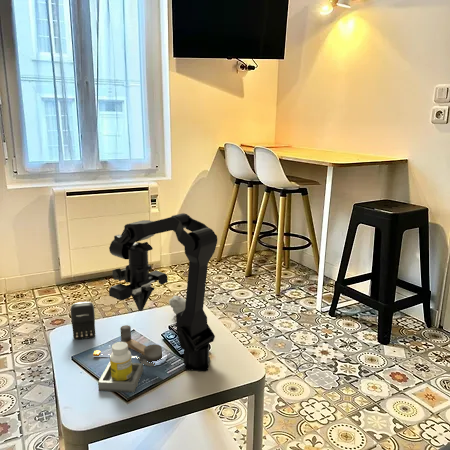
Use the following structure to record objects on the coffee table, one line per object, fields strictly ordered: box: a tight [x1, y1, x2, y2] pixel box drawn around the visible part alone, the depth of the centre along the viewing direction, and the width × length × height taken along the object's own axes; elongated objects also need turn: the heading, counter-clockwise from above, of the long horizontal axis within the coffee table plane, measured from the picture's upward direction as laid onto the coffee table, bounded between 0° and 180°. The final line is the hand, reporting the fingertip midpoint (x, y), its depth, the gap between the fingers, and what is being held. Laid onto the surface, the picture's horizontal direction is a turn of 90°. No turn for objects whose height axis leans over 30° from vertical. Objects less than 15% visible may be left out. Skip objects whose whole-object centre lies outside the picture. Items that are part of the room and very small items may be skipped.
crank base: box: [92, 350, 155, 367], centre depth 124 cm, size 21×8×1 cm, turn 87°
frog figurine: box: [168, 295, 186, 316], centre depth 149 cm, size 6×7×7 cm
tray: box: [97, 361, 144, 393], centre depth 113 cm, size 9×9×2 cm
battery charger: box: [70, 301, 96, 341], centre depth 133 cm, size 7×4×11 cm, turn 107°
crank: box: [119, 324, 163, 361], centre depth 126 cm, size 16×5×5 cm, turn 52°
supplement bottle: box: [109, 341, 133, 382], centre depth 112 cm, size 5×5×10 cm
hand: (140, 310), depth 133 cm, fingers closed
